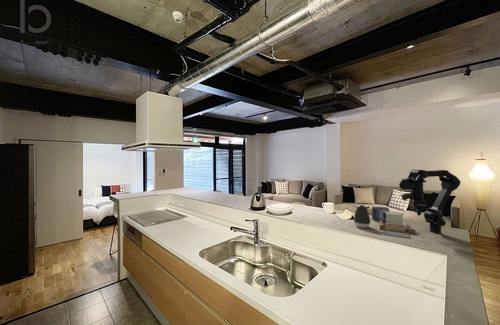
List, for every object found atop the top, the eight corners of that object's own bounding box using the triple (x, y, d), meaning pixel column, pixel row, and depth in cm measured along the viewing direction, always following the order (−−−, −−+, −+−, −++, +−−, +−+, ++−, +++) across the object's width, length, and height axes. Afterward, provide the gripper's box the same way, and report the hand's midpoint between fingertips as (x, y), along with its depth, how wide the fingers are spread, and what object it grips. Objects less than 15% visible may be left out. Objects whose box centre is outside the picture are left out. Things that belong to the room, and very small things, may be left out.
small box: (373, 221, 157) (373, 207, 157) (371, 219, 164) (371, 206, 164) (389, 223, 154) (389, 208, 154) (386, 220, 160) (386, 207, 160)
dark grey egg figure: (373, 229, 140) (373, 206, 140) (358, 229, 140) (358, 206, 140) (365, 224, 150) (365, 203, 150) (351, 224, 150) (351, 203, 150)
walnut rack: (379, 224, 151) (379, 220, 151) (409, 228, 142) (409, 223, 142) (379, 230, 138) (379, 225, 138) (412, 234, 129) (412, 229, 129)
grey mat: (383, 231, 135) (383, 230, 135) (408, 235, 128) (408, 234, 128) (383, 234, 129) (383, 233, 129) (410, 238, 122) (410, 237, 122)
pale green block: (386, 226, 146) (386, 212, 146) (402, 228, 141) (402, 213, 141) (386, 227, 143) (386, 213, 143) (402, 229, 138) (402, 214, 138)
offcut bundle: (385, 229, 139) (385, 223, 139) (405, 232, 134) (405, 225, 134) (385, 230, 138) (385, 223, 138) (405, 233, 132) (405, 226, 132)
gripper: (400, 187, 145) (400, 209, 144) (403, 190, 129) (403, 215, 129) (421, 188, 139) (421, 211, 139) (426, 191, 123) (426, 217, 123)
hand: (417, 213), depth 132 cm, fingers open, 9 cm apart
